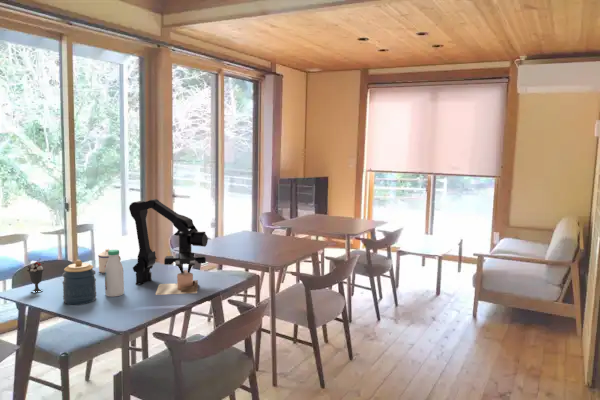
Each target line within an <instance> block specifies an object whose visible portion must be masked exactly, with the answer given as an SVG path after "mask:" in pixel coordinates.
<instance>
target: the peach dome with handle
mask: <svg viewBox="0 0 600 400" xmlns="http://www.w3.org/2000/svg"><path fill="white" fill-rule="evenodd" d="M183 271H184V273H181V272H180V273H177V275H176V278H177V280H176V281H177V283H176V284H177V289H178V290H181V287H190V286H193V280H194V274H193V273H192V272H190V273H188V269H183Z"/></svg>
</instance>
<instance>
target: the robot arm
mask: <svg viewBox="0 0 600 400" xmlns="http://www.w3.org/2000/svg"><path fill="white" fill-rule="evenodd" d="M149 209H152V210H154V211H155V212H157V213H158V214H159V215H161V216H163V218H166V219H167V220H168V221H170V222H171V223H172V225H173V227H175V228H176V230H177V231H176V232H175V233H174V234H173V235H174V236H178V257H175V256H174V255H166V256H165V257H164V262H163V263H164V265H165V266H166V265H173V264H174V263H175V264H174V265H175V267H177V268H178V269H179V271H180V273H184V266H183V265H188V267H187V272H188V273H191V270H192V268H193V267H194V266H195V265H196V262H197V263H198V264H206V262H207V261H206V259H207V258H206V255H205V254H197V255H196V256H195V253H194V252H192V246H194V247H204V248H205V247H206V246H207V245H208V241H209V240H208V239H209V238H208V236H207V234H206V231H199V230H198V229H197V228H196V226H195V224H194V222H193V219H191V218H190V217H188V216H185V215H182V214H179V213H177V212H176V211H174V210H173V209H171V208H170V207H168V206H167V205H165V204H164V203H163V202H161V201H160V200H159V199H157V198H153V199H150V200H147V201H143V200H138V201H134V202H131V203H130V204H129V207H128V210H129V213H130V216H131V217H132V219H133V220H134V221H135V222H134V225H135V228H136V230H135V231H136V234H137V242H138V249H139V250H138V254H137V263H136V264H135V265H134V266H133V267H132V270H133V272H135V276H136V277H135V281H136V282H135V285H143V284H144V283H147V282H152V280H153V279H152V278H153V276H152V275H153V274H152V272H151V269H152V268H153V267H154V266H155V264H156V262H157V261H156V260H157V257H156V251H155V250H152V249H151V247H150V239H149V233H148V225H147V220H146V219H147V216H148V213H149V212H148V210H149Z"/></svg>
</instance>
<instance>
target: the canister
mask: <svg viewBox="0 0 600 400" xmlns="http://www.w3.org/2000/svg"><path fill="white" fill-rule="evenodd" d="M93 268H94V265H92V264H90V263H87V262H83V261H82V260H81V259H76V261H74V263H70V264H68V265H67V266H66V267H65V268H63V270H64V272H63V273H62V277H63V281H62V287H63V289H62V290H63V292H62V293H63V295H62V297H63V298H62V299H63V302H64V303H65V304H67V305H73V304H75V305H84V304H85V305H86V304H88V303H93V302H94V301H95V300H96V299H97V288H96V286H97V285H96V284H97V283H96V282H97V279H96V278H95V274H96V273H97V272H96V270H95V269H93Z"/></svg>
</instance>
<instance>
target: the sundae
mask: <svg viewBox="0 0 600 400" xmlns="http://www.w3.org/2000/svg"><path fill="white" fill-rule="evenodd" d="M40 261H41V259H38V260H37V261H36V262H34V263H33V264H31V266H30V265H27V268H28V269H27V270H26V271H27V272H28V274H29V277H30V278H29V279H30V282H31V284H34V289H33V290H32V291H35V292H36V291H37V292H38V291H41V290H42V289H41V290H40V288H39V284H40V283H41V282H42V279H43V272H44V271H45V268H44V267H43V266H42V263H40Z"/></svg>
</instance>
